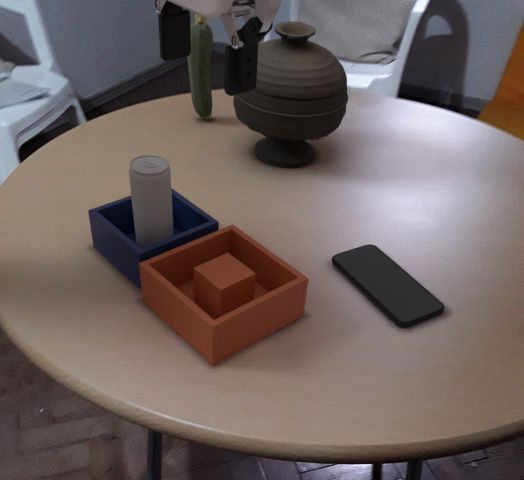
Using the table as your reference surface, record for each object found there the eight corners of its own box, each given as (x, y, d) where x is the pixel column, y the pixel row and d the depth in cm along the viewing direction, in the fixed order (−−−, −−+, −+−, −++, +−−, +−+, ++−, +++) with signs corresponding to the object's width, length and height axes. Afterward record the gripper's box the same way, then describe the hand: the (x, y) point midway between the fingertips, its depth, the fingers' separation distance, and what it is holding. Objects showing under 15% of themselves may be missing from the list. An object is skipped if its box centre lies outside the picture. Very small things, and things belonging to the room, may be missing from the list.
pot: (333, 186, 96) (340, 45, 82) (221, 174, 100) (212, 38, 86) (352, 140, 109) (362, 12, 95) (253, 131, 112) (249, 7, 99)
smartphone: (402, 325, 73) (328, 255, 82) (400, 331, 74) (327, 261, 82) (449, 307, 76) (372, 241, 85) (447, 312, 77) (371, 247, 85)
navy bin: (143, 292, 76) (139, 254, 72) (93, 247, 82) (87, 210, 78) (218, 258, 82) (219, 221, 78) (167, 219, 88) (165, 183, 84)
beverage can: (156, 265, 79) (149, 178, 71) (128, 250, 81) (119, 164, 73) (182, 248, 82) (178, 163, 74) (155, 234, 84) (149, 150, 75)
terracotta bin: (212, 365, 68) (212, 327, 64) (142, 301, 75) (138, 262, 71) (303, 315, 74) (308, 278, 71) (231, 261, 81) (232, 224, 78)
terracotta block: (220, 324, 72) (220, 289, 68) (194, 302, 74) (193, 267, 71) (253, 307, 74) (255, 273, 71) (227, 286, 77) (227, 252, 73)
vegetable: (203, 127, 109) (202, 0, 95) (183, 121, 111) (179, -5, 97) (217, 119, 112) (218, -6, 98) (197, 112, 114) (195, -11, 100)
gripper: (99, -178, 49) (121, 53, 61) (241, -147, 40) (234, 117, 52) (178, -178, 52) (184, 39, 64) (325, -150, 44) (300, 97, 55)
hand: (206, 74), depth 58 cm, fingers open, 9 cm apart
